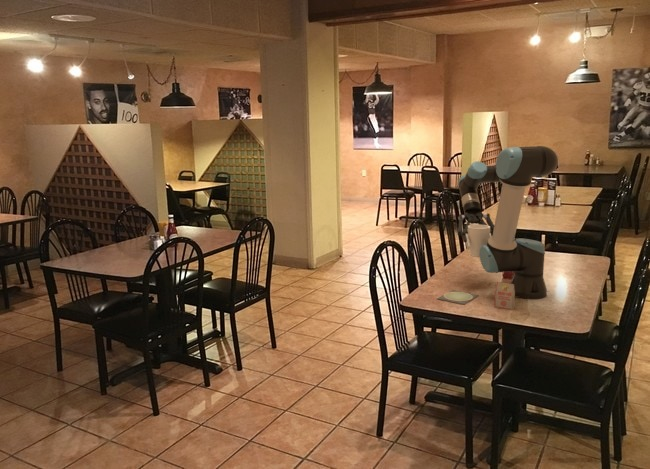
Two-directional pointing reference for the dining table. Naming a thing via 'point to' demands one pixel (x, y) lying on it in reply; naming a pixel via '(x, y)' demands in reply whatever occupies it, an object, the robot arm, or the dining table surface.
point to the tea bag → (504, 295)
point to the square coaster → (458, 297)
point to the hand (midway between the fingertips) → (480, 247)
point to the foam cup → (477, 238)
